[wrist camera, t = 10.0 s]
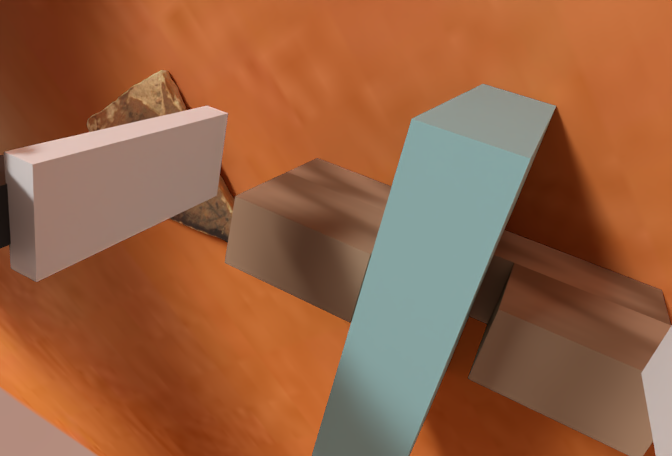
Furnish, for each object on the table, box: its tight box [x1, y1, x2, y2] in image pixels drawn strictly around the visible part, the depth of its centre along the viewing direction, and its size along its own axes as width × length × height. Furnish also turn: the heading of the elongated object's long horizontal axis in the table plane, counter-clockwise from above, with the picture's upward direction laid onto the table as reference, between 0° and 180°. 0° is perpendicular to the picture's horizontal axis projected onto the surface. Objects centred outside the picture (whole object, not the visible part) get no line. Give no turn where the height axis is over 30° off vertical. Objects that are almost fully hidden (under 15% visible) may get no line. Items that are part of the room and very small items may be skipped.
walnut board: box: [225, 158, 671, 456], centre depth 21 cm, size 16×3×7 cm, turn 75°
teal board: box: [312, 84, 556, 456], centre depth 20 cm, size 14×3×10 cm, turn 166°
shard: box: [87, 70, 234, 242], centre depth 30 cm, size 11×8×2 cm
